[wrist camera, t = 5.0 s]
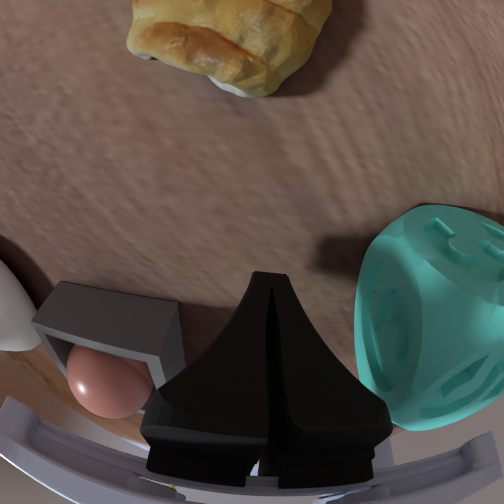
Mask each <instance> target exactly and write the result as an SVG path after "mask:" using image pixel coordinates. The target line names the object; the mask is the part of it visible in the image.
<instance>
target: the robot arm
mask: <svg viewBox="0 0 504 504" xmlns="http://www.w3.org/2000/svg"><path fill="white" fill-rule="evenodd" d="M392 431H393V426H392V421H391V417H390V413H389V410H388V408H387V405H386V402H385V401H383V400H382V399H381V398H380V397H378V396H377V395H376V394H374V393H373V392H372V391H371V390H369V389H368V388H367V387H366V386H364V385H363V384H362V383H361V382H360V381H359V380H358V379H357V378H356V377H354V376H353V375H352V374H351V373H350V371H349V370H348V369H347V368H346V367H345V366H344V365H343V364H342V363H341V362H340V361H339V360H338V359H337V358H336V356H335V355H334V354H333V353H332V352H331V350H330V349H329V348H328V346H327V345H326V344H325V343H324V341H323V340H322V338H321V337H320V336H319V334H318V333H317V331H316V330H315V328H314V327H313V325H312V323H311V322H310V320H309V318H308V317H307V315H306V313H305V311H304V310H303V308H302V306H301V304H300V302H299V300H298V298H297V296H296V294H295V292H294V290H293V287H292V285H291V283H290V280H289V277H288V276H287V275H286V274H279V273H269V272H259V271H255V272H253V273H252V277H251V280H250V283H249V286H248V288H247V290H246V292H245V294H244V296H243V298H242V300H241V302H240V303H239V305H238V307H237V309H236V310H235V312H234V313H233V315H232V316H231V318H230V319H229V321H228V322H227V323H226V325H225V326H224V327H223V329H222V330H221V331H220V333H219V334H218V335H217V336H216V337H215V339H214V340H213V341H212V342H211V343H210V344H209V345H208V346H207V347H206V348H205V350H204V351H203V352H202V353H201V354H200V355H199V356H198V357H196V358H195V359H194V360H193V361H192V362H191V363H190V364H189V365H187V366H186V367H185V368H184V369H183V370H182V371H181V372H179V373H178V374H177V375H175V376H174V377H173V378H171V379H170V380H169V381H167V382H166V383H165V384H163V385H162V386H161V387H159V388H158V389H157V390H156V392H155V394H154V395H153V397H152V399H151V400H150V402H149V404H148V406H147V409H146V411H145V413H144V416H143V420H142V424H141V427H140V432H141V435H142V436H143V437H144V439H145V440H146V441H147V443H148V444H149V445H150V451H149V455H148V459H145V458H142V457H138V456H134V455H131V454H128V453H124V452H121V451H118V450H115V449H112V448H109V447H106V446H103V445H101V444H98V443H95V442H92V441H90V440H87V439H85V438H82V437H80V436H78V435H75V434H73V433H71V432H68V431H66V430H64V429H62V428H60V427H57V426H55V425H53V424H51V423H49V422H47V421H45V420H43V419H41V418H40V417H39V415H38V414H37V413H35V412H34V411H33V410H32V409H30V408H29V407H27V406H26V405H24V404H23V403H21V402H19V401H17V400H16V399H14V398H12V397H11V396H7V398H6V400H5V402H4V404H3V406H2V408H1V411H0V455H1V456H2V457H3V458H5V459H6V460H7V461H9V462H10V463H11V464H13V465H14V466H16V467H17V468H18V469H20V470H21V471H23V472H24V473H26V474H27V475H29V476H30V477H32V478H33V479H35V480H36V481H38V482H39V483H41V484H43V485H44V486H46V487H47V488H49V489H51V490H52V491H54V492H56V493H58V494H59V495H61V496H63V497H65V498H67V499H69V500H70V501H73V502H75V503H76V504H203V503H197V502H190V501H185V499H186V497H185V496H184V495H183V494H180V493H177V491H176V489H175V488H172V487H168V486H165V485H161V484H158V483H154V482H151V481H149V480H145V479H142V478H140V477H143V478H146V479H150V480H154V481H158V482H162V483H166V484H171V485H175V486H181V487H186V488H191V489H197V490H204V491H210V492H218V493H227V494H237V495H251V496H309V495H318V499H314V500H313V504H458V503H460V502H461V501H463V500H465V499H467V498H469V497H471V496H472V495H474V494H476V493H478V492H479V491H481V490H483V489H485V488H486V487H488V486H490V485H491V484H493V483H495V482H496V481H498V480H500V479H501V478H502V477H503V474H502V469H501V464H500V460H499V455H498V451H497V448H496V444H495V440H494V437H493V433H492V431H490V432H488V433H485V434H482V435H480V436H478V437H475V438H473V439H472V440H470V441H468V442H467V443H465V444H464V445H462V446H461V447H459V448H457V449H454V450H451V451H448V452H445V453H442V454H438V455H435V456H432V457H428V458H425V459H421V460H418V461H414V462H409V463H405V464H401V465H396V466H394V460H393V453H392V447H391V442H390V434H391V433H392ZM259 458H260V459H259ZM258 460H259V468H258V476H250V473H251V471H252V469H253V467H254V465H255V464H257V462H258Z"/></svg>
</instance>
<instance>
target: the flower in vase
mask: <svg viewBox="0 0 504 504" xmlns="http://www.w3.org/2000/svg"><path fill="white" fill-rule="evenodd" d="M36 313H37V310H36V308H35V306H34V304H33V302H32V301H31V299H30V297H29V296H28V294H27V292H26V291H25V289H24V288H23V286H22V285H21V283H20V282H19V281H18V279H17V278H16V277H15V275H14V274H13V273H12V272H11V271H10V269H9V268H8V267H7V266H6V265H5V264H4V263H3V262H2V261H1V260H0V350H7V351H25V350H31V349H33V348H34V347H36V346H37V345H39V344H40V342H41V339H40V337H39V335H38V334H37V332H36V330H35V328H34V326H33V325H32V323H31V320H32V318H33V317H34V315H35V314H36Z"/></svg>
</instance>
